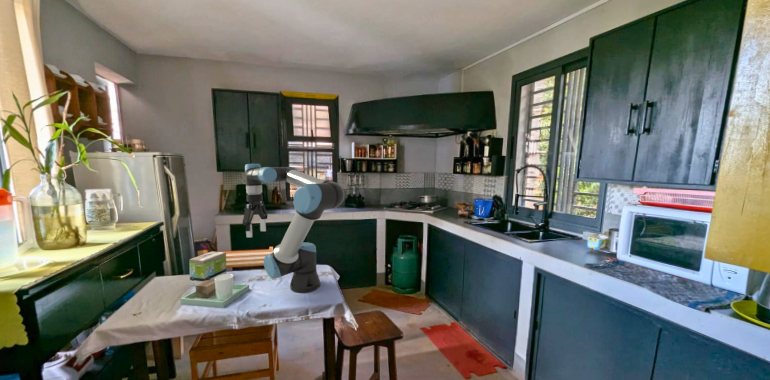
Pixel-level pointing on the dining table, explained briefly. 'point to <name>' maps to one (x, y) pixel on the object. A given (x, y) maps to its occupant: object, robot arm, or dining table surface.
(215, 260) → the tea box
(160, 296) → the dining table surface
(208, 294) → the walnut block
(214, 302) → the mint green serving tray
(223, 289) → the white cup
